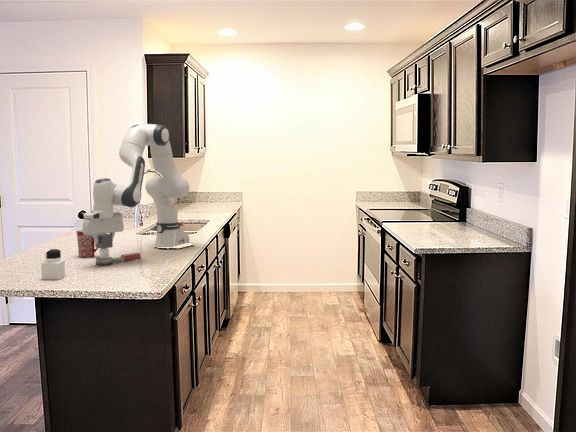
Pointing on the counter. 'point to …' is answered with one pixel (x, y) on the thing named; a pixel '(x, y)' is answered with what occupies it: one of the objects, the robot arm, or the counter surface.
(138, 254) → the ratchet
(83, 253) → the mug
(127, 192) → the robot arm
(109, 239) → the matte grey cube
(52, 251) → the medicine bottle
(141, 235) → the counter surface
